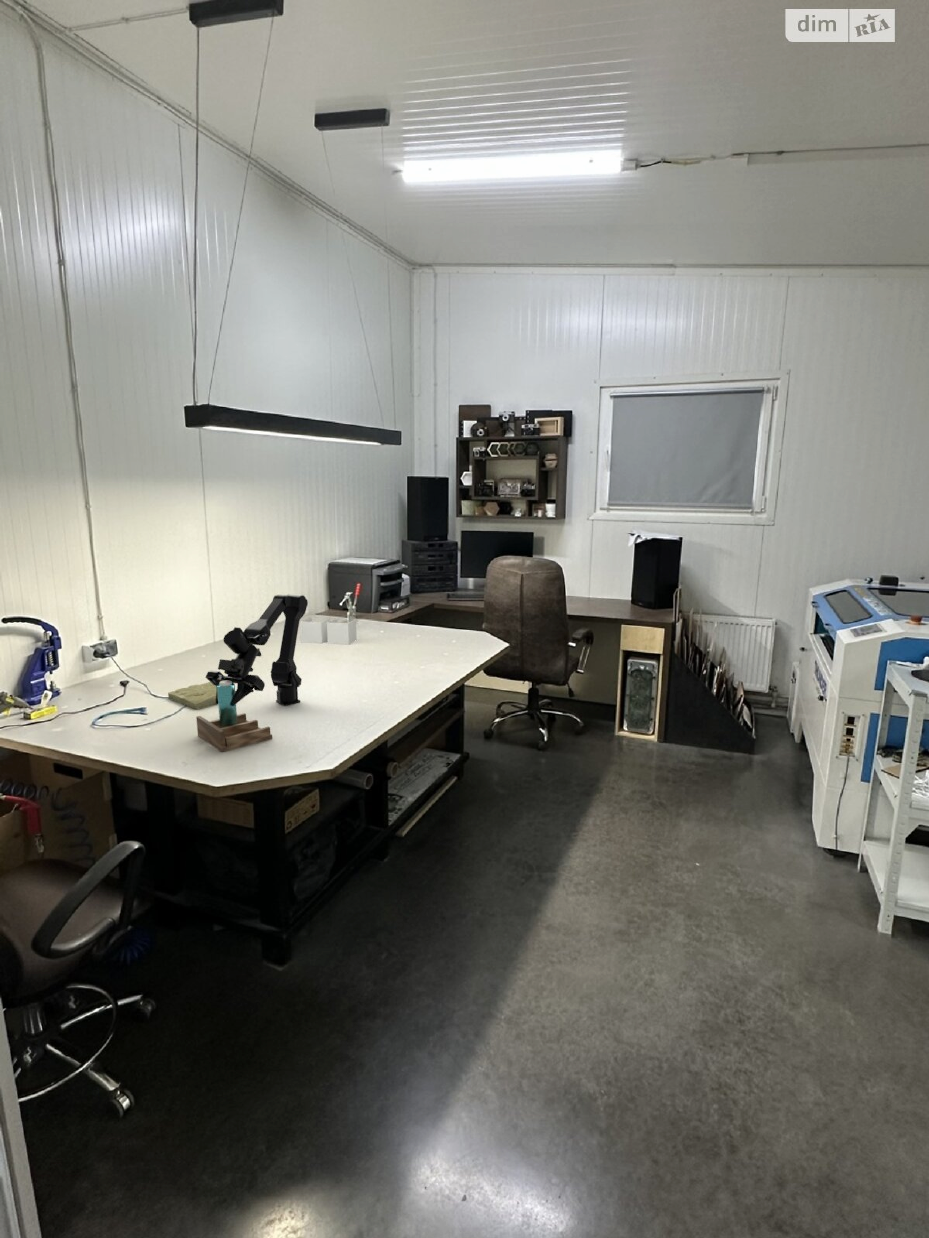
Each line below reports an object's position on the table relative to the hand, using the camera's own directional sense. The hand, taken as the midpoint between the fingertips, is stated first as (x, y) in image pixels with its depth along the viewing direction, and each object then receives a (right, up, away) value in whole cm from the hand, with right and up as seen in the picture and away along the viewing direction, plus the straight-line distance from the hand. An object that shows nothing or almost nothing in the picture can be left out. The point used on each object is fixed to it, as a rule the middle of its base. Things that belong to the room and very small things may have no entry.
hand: (224, 704), depth 209 cm
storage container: (+7, +15, +129) cm, 130 cm away
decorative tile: (-21, -3, +39) cm, 44 cm away
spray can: (0, -6, +3) cm, 7 cm away
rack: (+3, -10, 0) cm, 11 cm away
